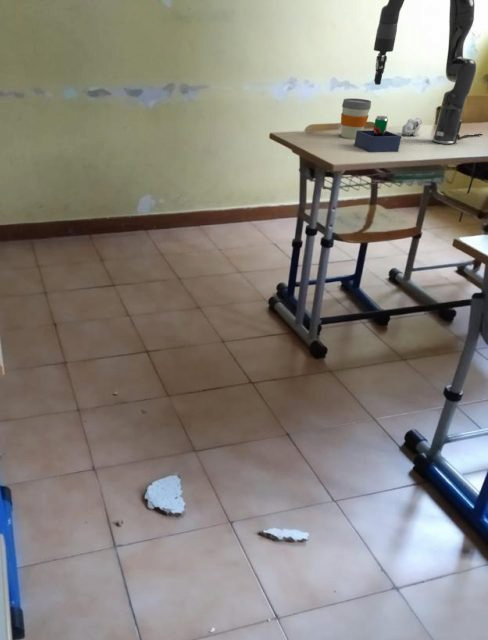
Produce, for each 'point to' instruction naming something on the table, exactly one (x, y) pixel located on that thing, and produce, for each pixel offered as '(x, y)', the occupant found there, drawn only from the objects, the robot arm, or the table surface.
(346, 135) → the reusable coffee cup
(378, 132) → the soda can
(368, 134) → the tote
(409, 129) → the skull
